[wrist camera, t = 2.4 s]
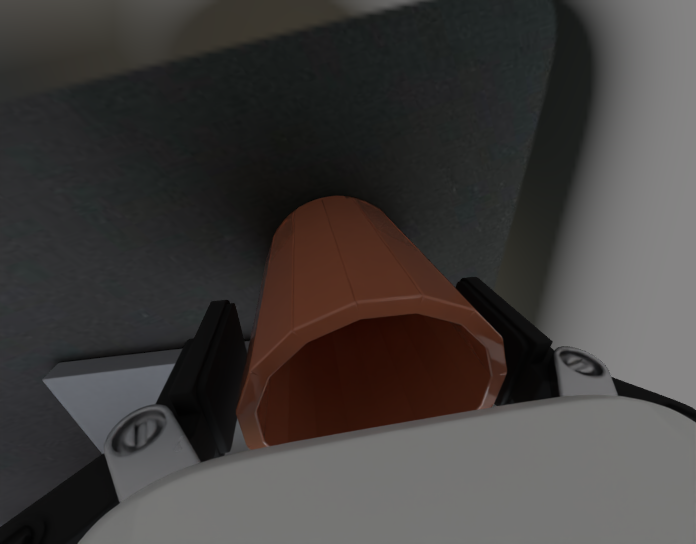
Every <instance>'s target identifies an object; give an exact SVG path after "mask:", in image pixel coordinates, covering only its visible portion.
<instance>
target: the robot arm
mask: <svg viewBox="0 0 696 544" xmlns="http://www.w3.org/2000/svg"><path fill="white" fill-rule="evenodd" d="M456 289H457V290H458V291H459V292H460V293H461V294H462V295H463V296H464V297H465V298H466V299H467V300H468V301H469V302H470V303H471V304H472V305H473V307H474V308H475V309H476V310H477V311H478V312H479V313H480V314H481V315H482V316H483V317H484V318H485V319H486V320H487V321H488V322H489V323H490V324H491V325H492V326H493V327H494V329H495V330H496V331H497V332H498V333H499V334H500V335H501V336H502V338H503V343H504V350H505V358H506V365H507V374H506V377H505V379H504V382H503V384H502V386H501V389H500V391H499V394H498V396H497V398H496V401H495V403H494V404H495V405H497V407H491V408H485V409H479V410H473V411H467V412H461V413H455V414H449V415H443V416H437V417H431V418H426V419H420V420H414V421H408V422H402V423H397V424H391V425H385V426H379V427H373V428H368V429H362V430H356V431H351V432H345V433H340V434H334V435H328V436H323V437H317V438H311V439H306V440H300V441H294V442H289V443H284V444H279V445H274V446H269V447H264V448H259V449H253V450H248V451H243V452H239V453H234V454H230V455H226V456H225V453H228V452H230V451H231V448H232V443H233V438H234V433H235V427H236V422H237V416H236V406H237V401H238V396H239V391H240V387H241V382H242V377H243V372H244V367H245V362H246V357H247V350H246V346H245V342H244V338H243V334H242V330H241V326H240V322H239V318H238V314H237V310H236V306H235V304H234V303H231V304H230V302H229V300H222V301H212V302H211V303H210V305H209V307H208V309H207V312H206V314H205V316H204V318H203V320H202V322H201V325H200V327H199V329H198V331H197V333H196V335H195V337H194V339H189V340H187V342H186V343H185V345H184V347H183V349H182V351H181V353H180V355H179V357H178V359H177V361H176V363H175V365H174V367H173V369H172V371H171V373H170V375H169V377H168V379H167V381H166V383H165V385H164V387H163V389H162V391H161V393H160V396H159V398H158V400H157V402H156V404H152V405H148V406H144V407H141V408H139V409H137V410H135V411H133V412H131V413H130V414H128V415H127V416H125V417H124V418H123V419H121V420H120V421H119V422H118V423H117V424H116V425H115V426H114V427H113V429H112V430H111V431H110V433H109V434H108V436H107V438H106V441H105V443H104V453H103V454H102V455H101V456H99V457H98V458H96V459H95V460H94V461H92V462H91V463H89V464H88V465H87V466H85V467H84V468H82V469H81V470H80V471H78V472H77V473H75V474H74V475H73V476H71V477H70V478H68V479H67V480H66V481H64V482H63V483H61V484H60V485H59V486H57V487H56V488H54V489H53V490H52V491H50V492H49V493H47V494H46V495H45V496H43V497H42V498H40V499H39V500H38V501H36V502H35V503H33V504H32V505H31V506H29V507H28V508H26V509H25V510H24V511H22V512H21V513H19V514H18V515H17V516H15V517H14V518H12V519H11V520H10V521H8V522H7V523H5V524H4V525H3V526H1V527H0V544H696V410H695V409H693V408H692V407H690V406H687V405H686V404H683V403H680V402H678V401H676V400H673V399H670V398H667V397H665V396H662V395H659V394H657V393H654V392H651V391H648V390H645V389H643V388H640V387H637V386H634V385H632V384H629V383H626V382H624V381H621V380H618V379H615V378H613V377H611V375H610V372H609V370H608V368H607V367H606V365H604V364H603V362H602V361H601V360H599V359H598V358H596V357H595V356H594V355H592V354H590V353H588V352H586V351H583V350H581V349H578V348H574V347H568V346H562V347H558V348H557V349H556V350H553V349H552V348H551V347H550V346H551V344H552V341H551V340H550V339H549V338H548V337H547V336H545V335H544V334H543V333H542V332H541V331H539V330H538V329H537V328H536V327H535V326H534V325H533V324H531V323H530V322H529V321H528V320H527V319H526V318H524V317H523V316H522V315H521V314H520V313H519V312H517V311H516V310H515V309H514V308H513V307H511V306H510V305H509V304H508V303H507V302H506V301H504V300H503V299H502V298H501V297H500V296H499V295H497V294H496V293H495V292H494V291H493V290H492V289H490V288H489V287H488V286H487V285H486V284H485V283H483V282H482V281H481V280H480V279H479V278H477V277H469V278H462V279H461V280H460V282H458V283H457V285H456Z"/></svg>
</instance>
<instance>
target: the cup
mask: <svg viewBox="0 0 696 544" xmlns="http://www.w3.org/2000/svg"><path fill="white" fill-rule="evenodd" d="M506 374H507V365H506V358H505V350H504V343H503V338H502V336H501V335H500V334H499V333H498V332H497V331H496V330H495V329H494V327H493V326H492V325H491V324H490V323H489V322H488V321H487V320H486V319H485V318H484V317H483V316H482V315H481V314H480V313H479V312H478V311H477V310H476V309H475V308H474V307H473V305H472V304H471V303H470V302H469V301H468V300H467V299H466V298H465V297H464V296H463V295H462V294H461V293H460V292H459V291H458V290H457V289H456V288H455V287H454V286H453V285H452V283H451V282H450V281H449V280H448V279H447V278H446V277H445V276H444V275H443V274H442V273H441V272H440V271H439V270H438V269H437V268H436V267H435V266H434V265H433V264H432V263H431V261H430V260H429V259H428V258H427V257H426V256H425V255H424V254H423V253H422V252H421V251H420V250H419V249H418V248H417V247H416V246H415V245H414V244H413V243H412V242H411V241H410V239H409V238H408V237H407V236H406V235H405V234H404V233H403V232H402V231H401V230H400V229H399V228H398V227H397V226H396V225H395V224H394V223H393V222H392V221H391V220H390V219H389V218H388V217H387V216H386V215H385V214H384V212H383V211H382V210H381V209H379V208H377V207H376V206H374V205H372V204H371V203H368V202H366V201H364V200H361V199H358V198H354V197H348V196H330V197H323V198H319V199H316V200H313V201H311V202H308V203H306V204H304V205H302V206H301V207H299V208H297V209H296V210H295V211H293V212H292V213H291V214H290V215H289V216H288V217H287V218H286V219H285V220H284V221H283V222H282V223H281V225H280V226H279V227H278V229H277V231H276V233H275V234H274V236H273V239H272V242H271V245H270V250H269V253H268V256H267V259H266V264H265V269H264V274H263V279H262V284H261V289H260V294H259V299H258V303H257V308H256V313H255V318H254V323H253V328H252V333H251V338H250V343H249V347H248V352H247V357H246V362H245V367H244V372H243V377H242V382H241V387H240V391H239V396H238V401H237V406H236V416H237V419H238V422H239V425H240V428H241V431H242V434H243V437H244V440H245V443H246V445H247V447H248V448H249V449H250V450H253V449H259V448H264V447H269V446H274V445H279V444H284V443H289V442H294V441H300V440H306V439H311V438H317V437H323V436H328V435H334V434H340V433H345V432H351V431H356V430H362V429H368V428H373V427H379V426H385V425H391V424H397V423H402V422H408V421H414V420H420V419H426V418H431V417H437V416H443V415H449V414H455V413H461V412H467V411H473V410H479V409H485V408H491V407H492V406H493V404H494V403H495V401H496V398H497V396H498V394H499V391H500V389H501V386H502V384H503V382H504V379H505V377H506Z"/></svg>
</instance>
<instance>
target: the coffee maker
mask: <svg viewBox="0 0 696 544" xmlns="http://www.w3.org/2000/svg"><path fill="white" fill-rule="evenodd" d="M244 342H245V346H246V350H247V352H248V347H249V343H250V341H244ZM181 351H182V349H174V350H166V351H157V352H148V353H139V354H131V355H122V356H113V357H105V358H96V359H87V360H78V361H70V362H61V363H58V364H57V365H56V366H55V367H54V368H53V369H52V370H51V371H50V372H49V373H48V374H47V375H46V376H45V377H44V378H43V379H42V381H43V382H44V383H45V384H46V385H47V387H48V388H49V389H50V390H51V392H52V393H53V394H54V395H55V397H56V398H57V399H58V400H59V401H60V403H61V404H62V405H63V406H64V408H65V409H66V410H67V411H68V412H69V414H70V415H71V416H72V417H73V419H74V420H75V421H76V422H77V423H78V425H79V426H80V427H81V428H82V430H83V431H84V432H85V433H86V434H87V436H88V437H89V438H90V439H91V441H92V442H93V443H94V444H95V446H96V447H97V448H98V449H99V450H100V452H101V453H102V454H103V453H104V443H105V441H106V438H107V436H108V434H109V433H110V431H111V430H112V429H113V427H114V426H115V425H116V424H117V423H118V422H119V421H120V420H121V419H123V418H124V417H125V416H127V415H128V414H130V413H131V412H133V411H135V410H137V409H139V408H141V407H144V406H148V405H152V404H156V402H157V400H158V398H159V396H160V393H161V391H162V389H163V387H164V385H165V383H166V381H167V379H168V377H169V375H170V373H171V371H172V369H173V367H174V365H175V363H176V361H177V359H178V357H179V355H180V353H181ZM248 450H250V449H249V448H248V447H247V445H246V443H245V440H244V437H243V434H242V431H241V428H240V425H239V422H238V419H237V422H236V427H235V433H234V438H233V443H232V448H231V451H230V452H228V453H225V456H226V455H230V454H234V453H239V452H243V451H248Z"/></svg>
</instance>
